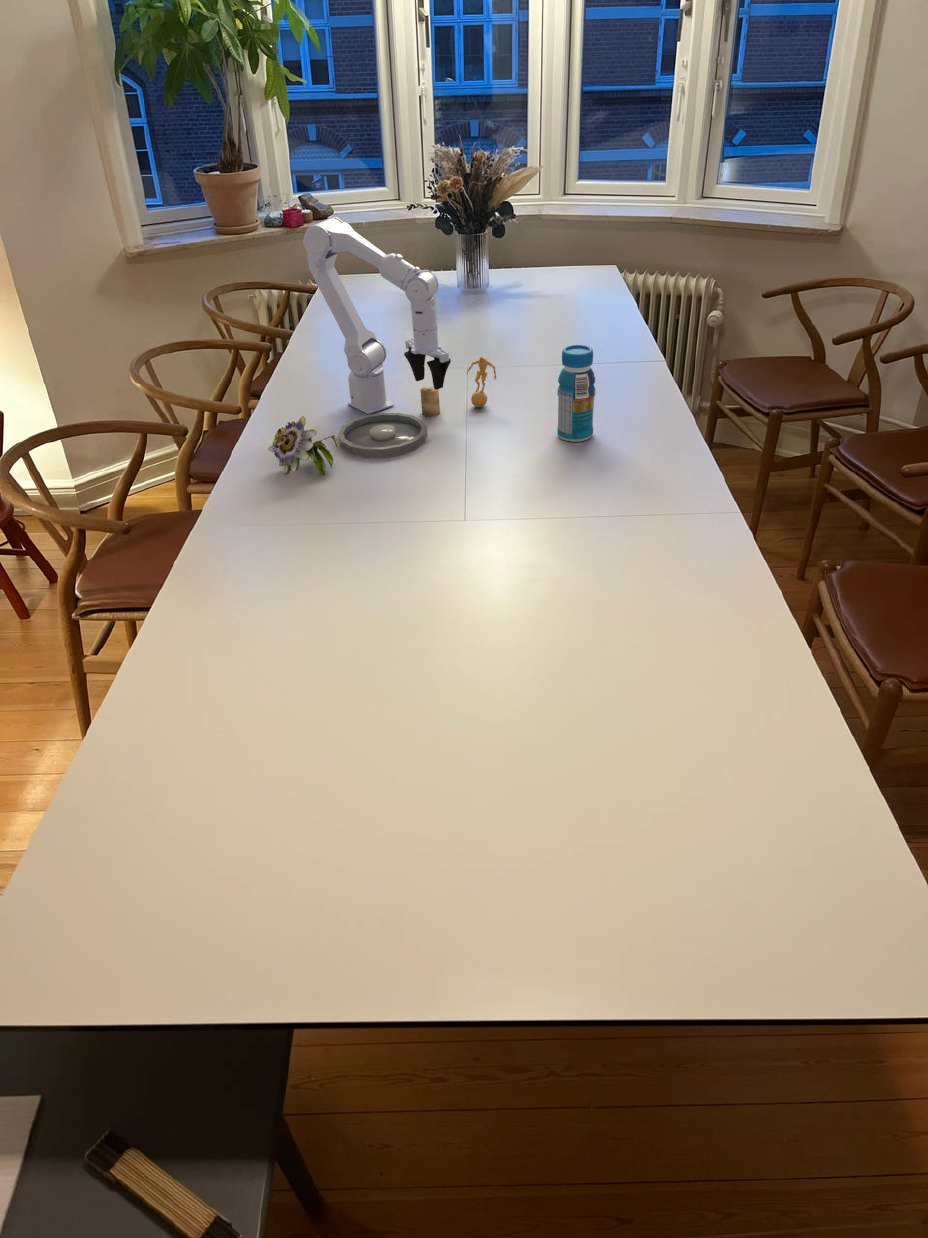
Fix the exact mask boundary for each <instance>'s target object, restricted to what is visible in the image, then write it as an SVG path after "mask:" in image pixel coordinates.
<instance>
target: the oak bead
mask: <svg viewBox="0 0 928 1238" xmlns="http://www.w3.org/2000/svg"><path fill="white" fill-rule="evenodd" d="M419 391H420V404H421V415H422V416H423V417H427V418H431V417H434V418H435V417H437V416H439V415H440V414H441V406H440V393H439V391H440V389H437V390H436V389H434V385H433V386H424V387H422V388H421V389H420V390H419Z"/></svg>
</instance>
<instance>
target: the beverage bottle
mask: <svg viewBox="0 0 928 1238" xmlns="http://www.w3.org/2000/svg"><path fill="white" fill-rule="evenodd" d="M593 363H594V349H593V348H592V347H591V346H589V345H585V344H571V345H567V346H564V347H563V349H562V352H561V364H562V366H563V368H562V369H561V371H560V372H559V375H558V379H557V382H558V384H559V386H558V387H557V391H556V393H557V394H556V395H557V398H558V399H557V400H558V407H557V409H558V411H557V413H558V414H557V431H556V434H557V436H558V437H559V438H560V439H561V440H564V441H565V442H574V443H577V442H584V441H587V440H589V439H591V438H592V437H593V434H594V408H595V407H594V406H595V396H596V387H595V383H596V375H595V372H594V371H593V369H592V368H591V367H592V366H593Z"/></svg>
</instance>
